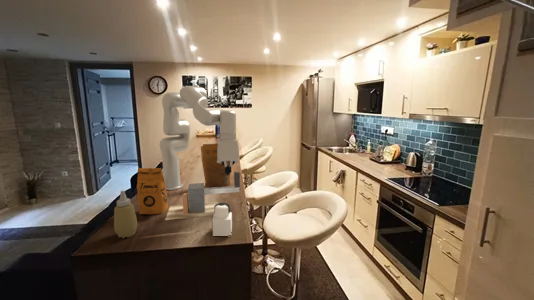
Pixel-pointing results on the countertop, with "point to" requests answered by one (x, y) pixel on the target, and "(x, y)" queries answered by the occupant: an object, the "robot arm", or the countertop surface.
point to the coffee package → (151, 191)
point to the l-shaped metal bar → (225, 189)
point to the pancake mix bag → (213, 167)
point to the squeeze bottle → (124, 217)
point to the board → (177, 211)
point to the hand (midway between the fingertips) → (228, 174)
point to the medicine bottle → (222, 220)
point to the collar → (185, 203)
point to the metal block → (196, 198)
